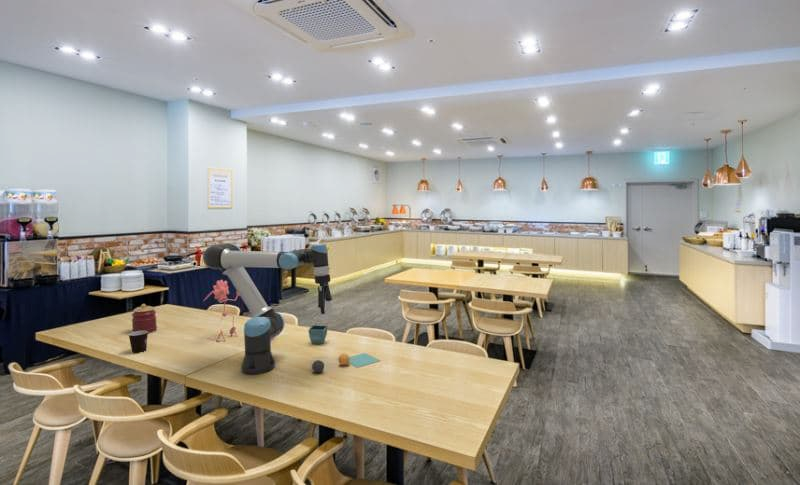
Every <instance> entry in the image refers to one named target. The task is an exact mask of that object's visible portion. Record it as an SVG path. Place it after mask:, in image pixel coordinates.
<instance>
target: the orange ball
mask: <svg viewBox="0 0 800 485" xmlns="http://www.w3.org/2000/svg"><path fill="white" fill-rule="evenodd" d="M349 357H350V356H349V354H347V353H342V354H339V357H338V359H337V360H338V364H339V365H341V366H347V365H349V361H350V358H349Z"/></svg>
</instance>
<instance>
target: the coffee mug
mask: <svg viewBox="0 0 800 485" xmlns="http://www.w3.org/2000/svg"><path fill="white" fill-rule="evenodd" d="M148 334H149V333H148V331H136V332H129V333H128V337H129V338H128V339H129V343H130V347H131V353H132V352H133V353H132V354H141V353H140V352H142V353H145V352H146V351H147V346H148V336H149V335H148ZM144 351H145V352H144Z"/></svg>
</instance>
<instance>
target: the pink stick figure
mask: <svg viewBox="0 0 800 485" xmlns="http://www.w3.org/2000/svg"><path fill="white" fill-rule="evenodd" d="M212 287H213V290H212V291H211V292H210V293H208V294H207V296H206V297H205V298H204V299H203V302H205V300H207V299H208V298H209V297H210V296H211V295H212V294H213V295H214V299H215V300H217V301H218V303H219V304H221V303H224V304H223V312H222V314H221V315H222V316H221V318H220V321H222V320H223V317H227V316H230V317H232V324H234V321H235V320H234V319H235V316H234V315H231V314H228V312H226V311H225V308H226V303H227V301H232V302H233V301H234V302H236V301H237V299H238V297H241V296H240V295H239V293H238V291H237V290H236V292H235V294H236V297H235V299H231V298H230V299H229V298H228V296H227V295H230V290H229V288H230V287H229V286H228V281H227V280H223V279H220V280H216V284H215V285H214V284H213V286H212ZM219 332H220V333H219V334H217V335H215V337H216V336H217V338H216V341H215V342H217V341H218V340H219V338H220V337H221V336H222V339H223V341H224V342H226V339H225V337H224V334H223V332H224V331H223V330H221V331H219ZM233 334H235V337H236V338H237V337H238V335H237V332H236V326H231V328H230V329H229V335H231V336H232V335H233ZM211 338H212V336H210V337H209V338H207V340H208V339H211Z"/></svg>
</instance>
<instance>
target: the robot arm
mask: <svg viewBox="0 0 800 485" xmlns="http://www.w3.org/2000/svg"><path fill="white" fill-rule="evenodd" d="M327 248H328V247H327V244H326V243H323V242H322V243H313V244H311V246H310V248H306V249H303V248H302V249H294V250H289V251H262V250H261V251H258V250H257V251H256V250H253V251H252V250H242V249H241V248H240V246H238V245H237V244H234V243H228V242H227V243H223V244H222V243H221V244H215V245H212V246H209V247H207V248H206V249H205V250H204V252H203V254H202V260H203V263H204V265H205V266H206V267H208V268H210V269H212V270H219V271H221V274H222V275H224V276H227V277H228V278H229V280H230V282H231V283H232V285H233V287H234V288H235V290H236V292H237V291H238V293H239V295H240V296H239V297H241V300H242V301H243V304H245V305H246V308H247V309H248V311H249V312H250V314H251V315H252V317H251V318H250V319H248V320H247V321H246V322H244V328H243V336H244V339H243V341H244V356H243V360H242V363H241V366H240V368H241V370H240V371H241V372H242V373H243V374H245V375H261V374H266V373H268V372H270V371H272V370H274V369H275V368H276V361H275V358H274V355H273V352H272V344H271V340H272V339H273V338H274V339H275V338H276V337H278V336H279V335H280V334H281V333H282V331H283V330H284V328H285V323H286V322H285V318H284V317H283V315H282V314H281V313H280V312H278V311H277V312H276V311H275V309H274V307H271V306H268V304H267V302H266V301H265V299H264V297H263V296H262V294H261V293H260V291H259V289H258V287H257V286H256V285H255V283H254V281H253V280H252V278H251V276H250V275H249V273H248V272H247V270H246V269H245V268H270V269H271V268H274V269H275V268H276V269H277V268H278V269H284V270H293V269H294V268H297V267H299V266H300V267H301V266H303V265H309V264H310V265H312V266H313V275H314V283H315V284H319V286H317V291H318V292H317V294H318V295H317V296H318V298H317V299H318V302H317V304H318V305H317V308H319V313H320V321H321V322H323V321H328V316H327V315H329V314H331V315H332V314H333V308H332V301H333V297H332V295H331V290H330V289H331V288H330V285H329V282H330V283H331V275H330V269H331V267H330V266H329V255H328V254H329V252H328V249H327ZM272 341H273V340H272Z"/></svg>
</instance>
